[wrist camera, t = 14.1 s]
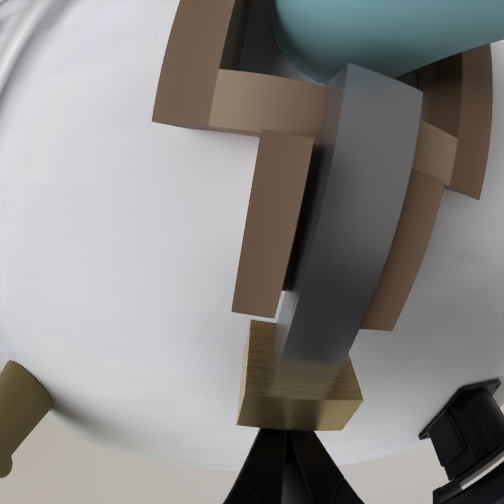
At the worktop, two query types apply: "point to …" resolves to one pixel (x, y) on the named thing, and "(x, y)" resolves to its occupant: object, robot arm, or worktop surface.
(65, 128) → the worktop surface
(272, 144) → the dock
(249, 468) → the robot arm
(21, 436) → the cork
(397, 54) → the peg
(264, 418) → the lock bolt
